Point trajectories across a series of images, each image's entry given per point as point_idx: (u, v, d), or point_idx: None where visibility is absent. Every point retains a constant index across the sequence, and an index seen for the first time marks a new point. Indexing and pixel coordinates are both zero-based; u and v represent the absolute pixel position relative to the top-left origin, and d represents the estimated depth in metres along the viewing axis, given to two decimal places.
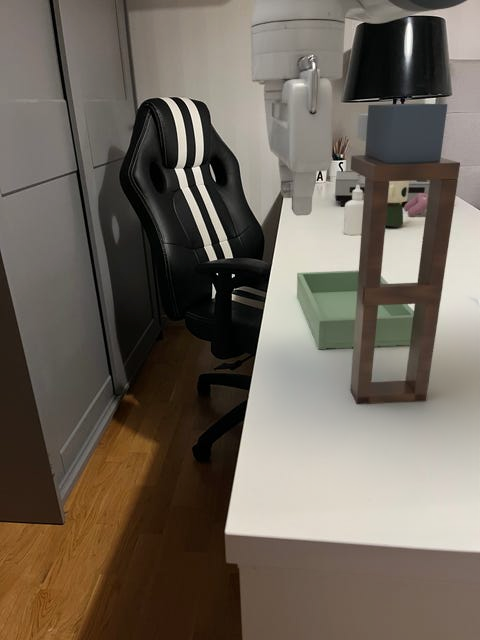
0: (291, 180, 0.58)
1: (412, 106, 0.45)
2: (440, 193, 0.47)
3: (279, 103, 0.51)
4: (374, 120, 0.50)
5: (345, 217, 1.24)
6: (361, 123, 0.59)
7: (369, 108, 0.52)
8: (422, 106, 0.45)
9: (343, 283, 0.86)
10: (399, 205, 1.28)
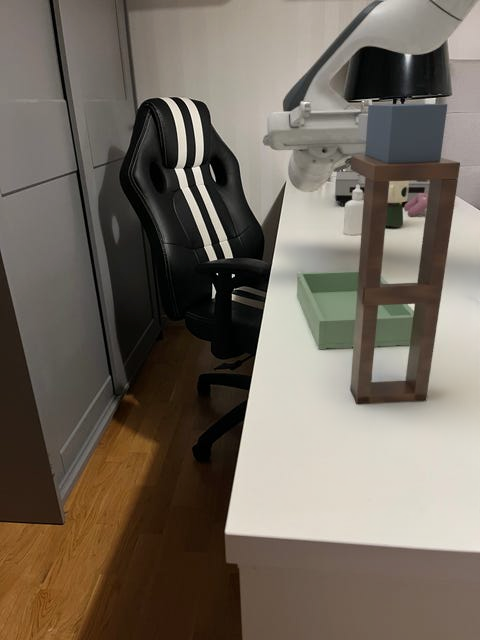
0: None
1: (412, 106, 0.45)
2: (440, 193, 0.47)
3: (332, 143, 0.86)
4: (374, 120, 0.50)
5: (345, 217, 1.24)
6: (361, 123, 0.59)
7: (369, 108, 0.52)
8: (422, 106, 0.45)
9: (343, 283, 0.86)
10: (399, 205, 1.28)
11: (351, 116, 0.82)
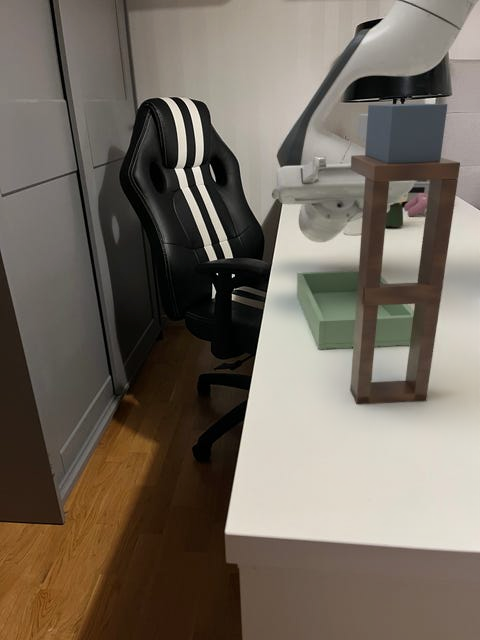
0: None
1: (412, 106, 0.45)
2: (440, 193, 0.47)
3: (348, 197, 0.78)
4: (374, 120, 0.50)
5: None
6: (361, 123, 0.59)
7: (369, 108, 0.52)
8: (422, 106, 0.45)
9: (343, 283, 0.86)
10: (399, 205, 1.28)
11: None
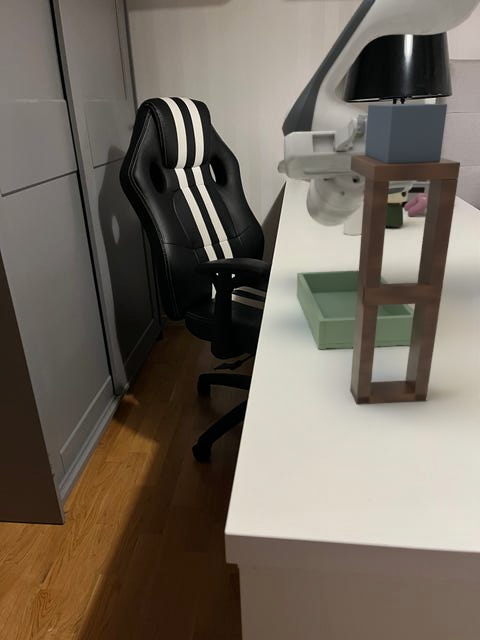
0: None
1: (412, 106, 0.45)
2: (440, 193, 0.47)
3: None
4: (374, 120, 0.50)
5: None
6: None
7: (369, 108, 0.52)
8: (422, 106, 0.45)
9: (343, 283, 0.86)
10: (399, 205, 1.28)
11: None
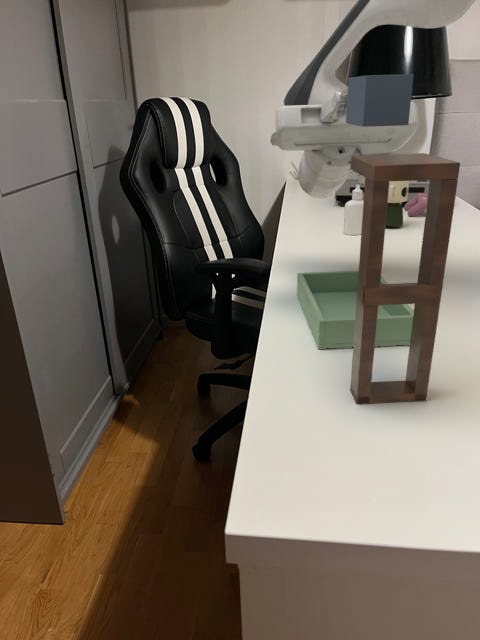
0: None
1: (383, 76, 0.52)
2: (440, 193, 0.47)
3: (350, 142, 0.75)
4: (353, 91, 0.58)
5: (345, 217, 1.24)
6: None
7: (349, 81, 0.59)
8: (392, 75, 0.52)
9: (343, 283, 0.86)
10: (399, 205, 1.28)
11: None
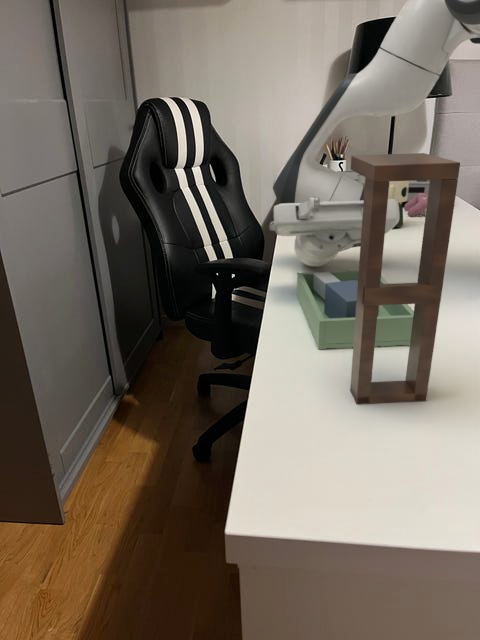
0: None
1: None
2: (440, 193, 0.47)
3: (339, 230, 0.84)
4: (331, 297, 0.75)
5: None
6: (316, 282, 0.83)
7: (326, 286, 0.76)
8: None
9: None
10: (399, 205, 1.28)
11: (359, 207, 0.80)
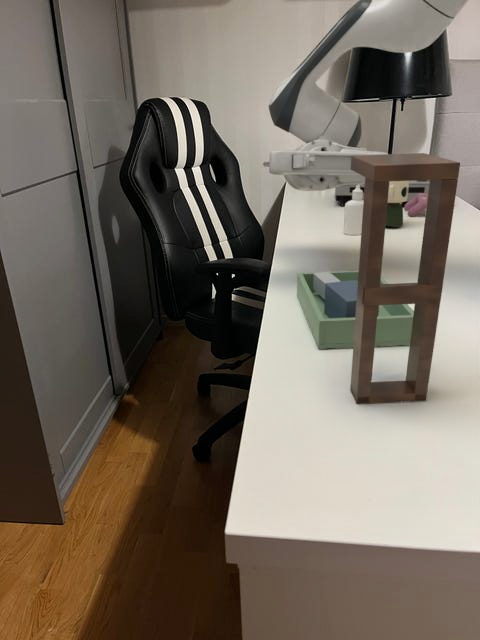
0: None
1: None
2: (440, 193, 0.47)
3: None
4: (331, 297, 0.75)
5: (345, 217, 1.24)
6: (316, 282, 0.83)
7: (326, 286, 0.76)
8: None
9: None
10: (399, 205, 1.28)
11: None
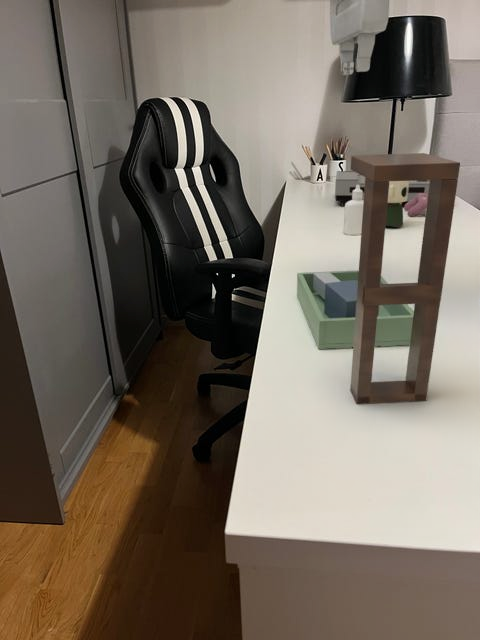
0: (349, 62, 0.81)
1: None
2: (440, 193, 0.47)
3: None
4: (331, 297, 0.75)
5: (345, 217, 1.24)
6: (316, 282, 0.83)
7: (326, 286, 0.76)
8: None
9: None
10: (399, 205, 1.28)
11: (355, 35, 0.78)
